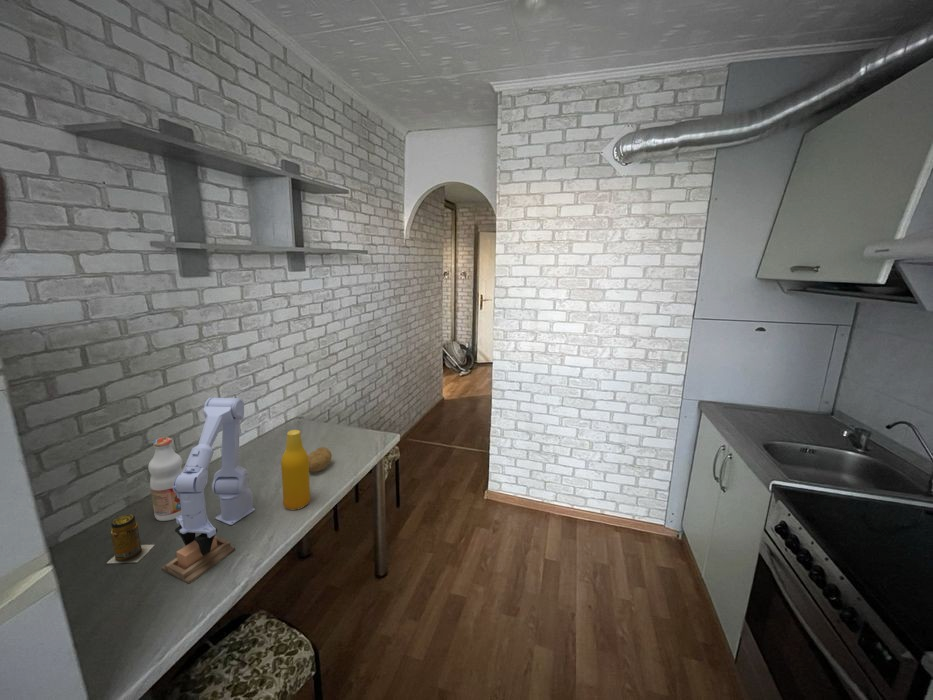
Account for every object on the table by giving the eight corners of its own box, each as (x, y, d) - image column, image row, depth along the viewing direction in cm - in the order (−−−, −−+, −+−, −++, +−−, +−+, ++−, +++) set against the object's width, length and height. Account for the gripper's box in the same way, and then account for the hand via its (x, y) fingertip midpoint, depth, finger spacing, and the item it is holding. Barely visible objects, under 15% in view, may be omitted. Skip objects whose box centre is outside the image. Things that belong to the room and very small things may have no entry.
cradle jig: (208, 538, 122) (208, 532, 122) (235, 550, 118) (234, 544, 118) (161, 569, 110) (160, 562, 109) (189, 584, 106) (188, 577, 105)
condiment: (125, 545, 118) (119, 512, 115) (155, 545, 118) (150, 511, 116) (106, 564, 111) (99, 528, 108) (137, 563, 111) (131, 528, 109)
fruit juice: (157, 509, 134) (146, 437, 128) (189, 501, 139) (181, 432, 133) (152, 525, 127) (141, 449, 120) (187, 516, 132) (178, 443, 125)
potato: (298, 475, 160) (297, 458, 158) (316, 459, 173) (316, 443, 172) (319, 479, 158) (318, 462, 157) (336, 462, 172) (336, 446, 170)
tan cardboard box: (208, 546, 118) (207, 532, 117) (217, 550, 117) (216, 536, 116) (178, 566, 110) (176, 551, 109) (187, 571, 109) (185, 556, 108)
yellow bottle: (311, 507, 140) (308, 435, 134) (283, 513, 136) (279, 440, 130) (309, 493, 148) (306, 425, 142) (283, 499, 144) (279, 429, 138)
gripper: (162, 510, 109) (168, 550, 112) (196, 525, 104) (201, 566, 107) (187, 497, 115) (192, 535, 118) (221, 510, 110) (225, 550, 113)
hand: (198, 549), depth 113 cm, fingers open, 6 cm apart
